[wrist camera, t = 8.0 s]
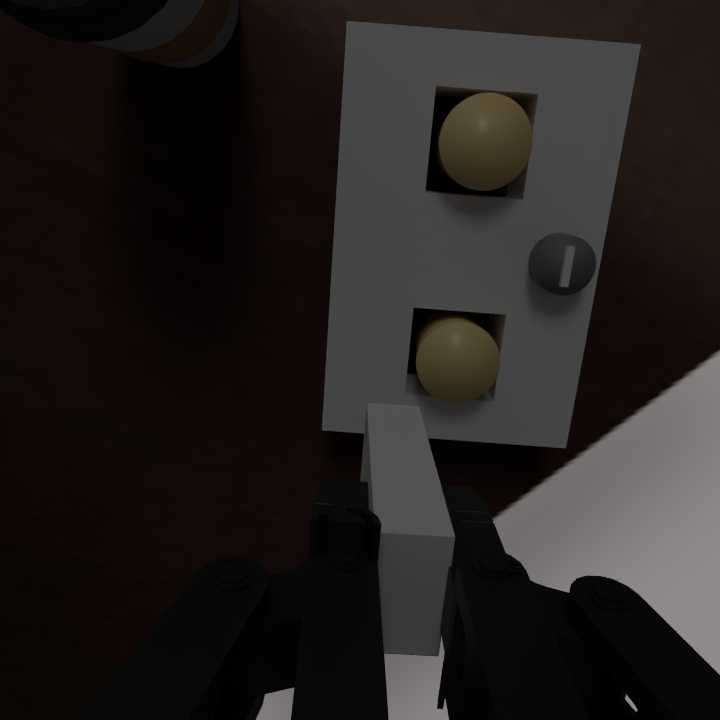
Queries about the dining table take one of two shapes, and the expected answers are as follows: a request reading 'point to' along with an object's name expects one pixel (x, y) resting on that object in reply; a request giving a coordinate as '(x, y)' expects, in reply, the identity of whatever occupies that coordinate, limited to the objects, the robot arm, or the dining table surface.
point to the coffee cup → (136, 26)
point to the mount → (471, 224)
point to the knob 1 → (484, 142)
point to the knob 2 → (455, 357)
